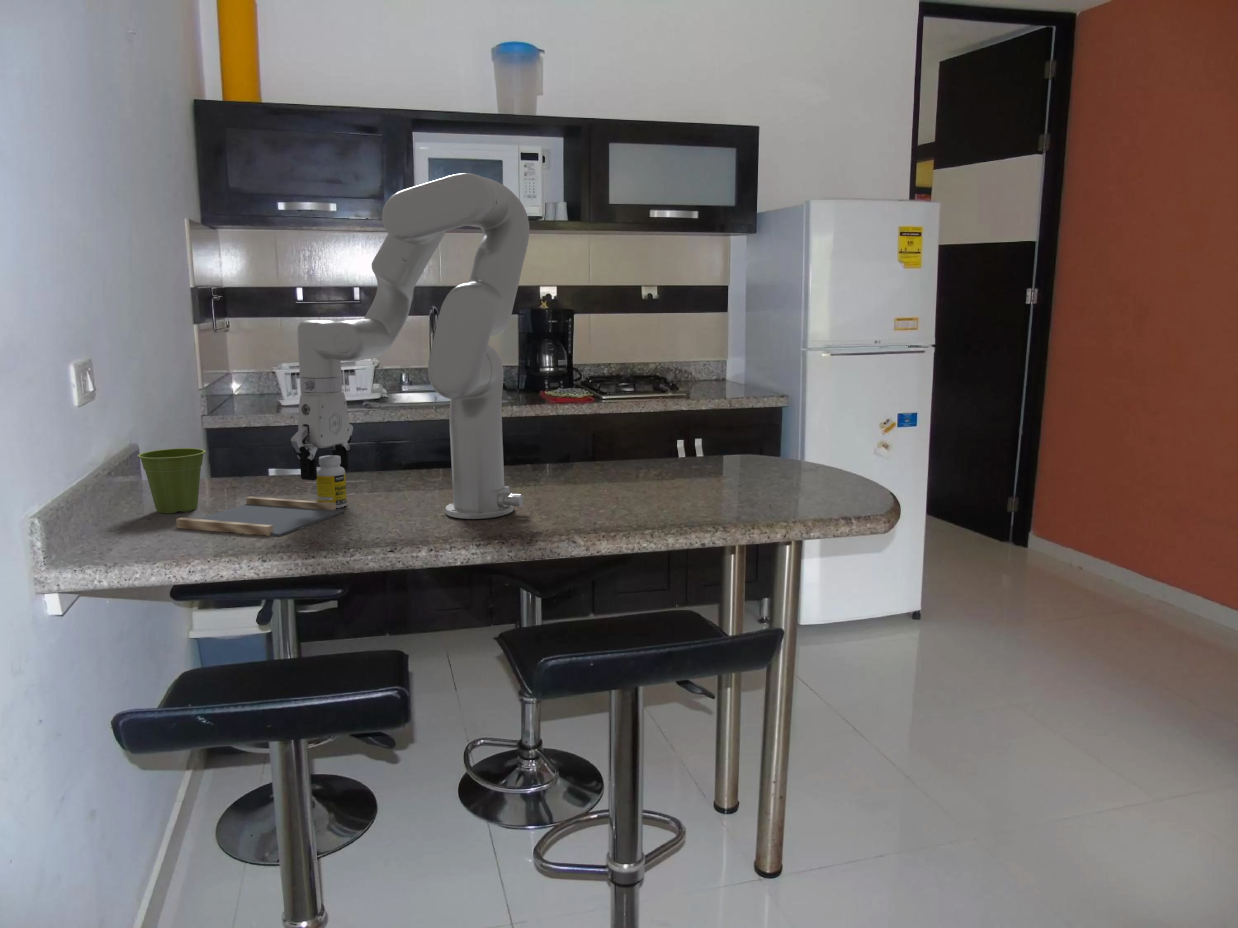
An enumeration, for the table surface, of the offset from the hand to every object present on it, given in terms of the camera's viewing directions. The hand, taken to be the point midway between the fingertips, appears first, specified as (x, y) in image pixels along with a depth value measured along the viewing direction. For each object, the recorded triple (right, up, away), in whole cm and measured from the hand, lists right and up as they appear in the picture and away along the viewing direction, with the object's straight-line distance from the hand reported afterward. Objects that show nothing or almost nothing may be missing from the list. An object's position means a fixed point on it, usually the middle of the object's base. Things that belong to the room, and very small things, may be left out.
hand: (325, 474), depth 177 cm
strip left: (-13, -10, -16) cm, 23 cm away
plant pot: (-29, -7, +1) cm, 30 cm away
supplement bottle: (+1, -6, +1) cm, 7 cm away
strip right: (-7, -7, 0) cm, 9 cm away
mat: (-9, -8, -8) cm, 14 cm away
